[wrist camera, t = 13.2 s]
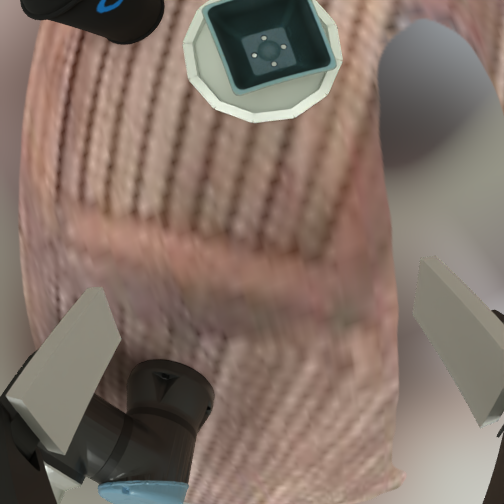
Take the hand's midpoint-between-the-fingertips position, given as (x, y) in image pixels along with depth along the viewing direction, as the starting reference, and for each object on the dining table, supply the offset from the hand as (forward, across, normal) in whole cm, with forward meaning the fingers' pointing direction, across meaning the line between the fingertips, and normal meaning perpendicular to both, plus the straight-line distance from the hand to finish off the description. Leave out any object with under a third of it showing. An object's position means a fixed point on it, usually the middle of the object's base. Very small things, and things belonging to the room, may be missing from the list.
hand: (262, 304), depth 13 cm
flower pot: (+25, -2, -14) cm, 29 cm away
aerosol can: (+26, +12, -23) cm, 36 cm away
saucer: (+25, -2, -15) cm, 29 cm away
